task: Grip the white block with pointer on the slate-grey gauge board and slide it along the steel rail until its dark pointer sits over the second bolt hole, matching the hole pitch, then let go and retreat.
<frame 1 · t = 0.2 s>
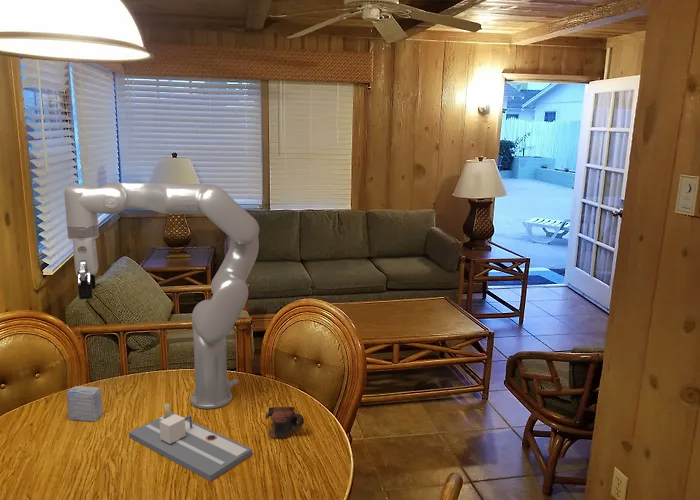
hand: (87, 293, 152), 37 cm above the table, tool pointing down, fingers open, 9 cm apart
pottery mug: (284, 431, 155), on the table
white block with pointer: (178, 425, 148), point 4 cm above the table, slide at 10.0 cm
gauge board: (189, 445, 146), on the table
medicine box: (86, 418, 159), on the table
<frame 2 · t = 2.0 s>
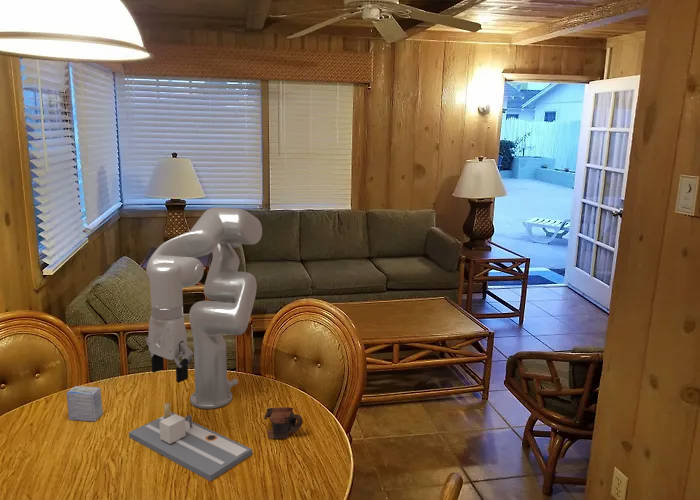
hand: (169, 375, 143), 20 cm above the table, tool pointing down, fingers open, 9 cm apart
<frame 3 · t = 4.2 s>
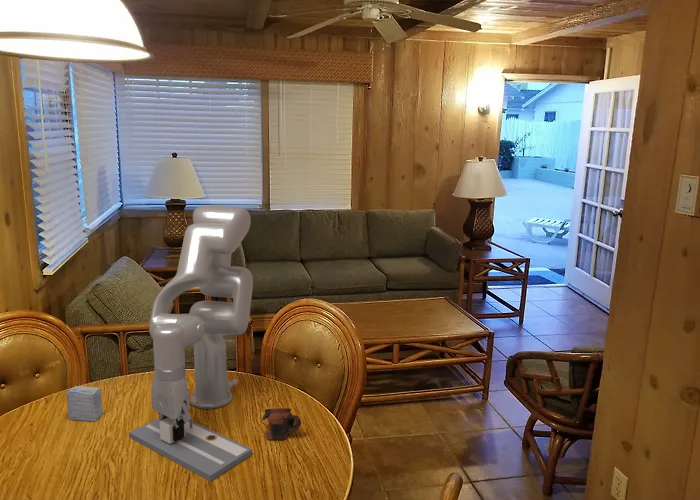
hand: (172, 435, 147), 3 cm above the table, tool pointing down, fingers closed on white block with pointer, 4 cm apart
white block with pointer: (178, 425, 148), point 5 cm above the table, slide at 10.0 cm, touching gripper
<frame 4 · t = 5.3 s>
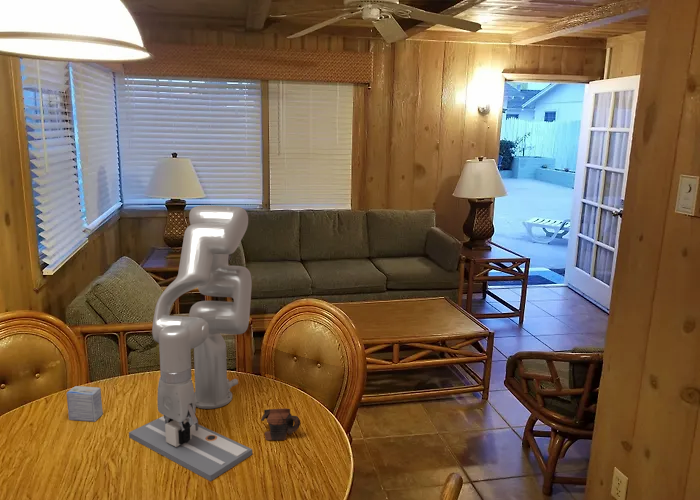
hand: (178, 438, 145), 3 cm above the table, tool pointing down, fingers closed on white block with pointer, 4 cm apart
white block with pointer: (184, 428, 146), point 5 cm above the table, slide at 12.4 cm, touching gripper
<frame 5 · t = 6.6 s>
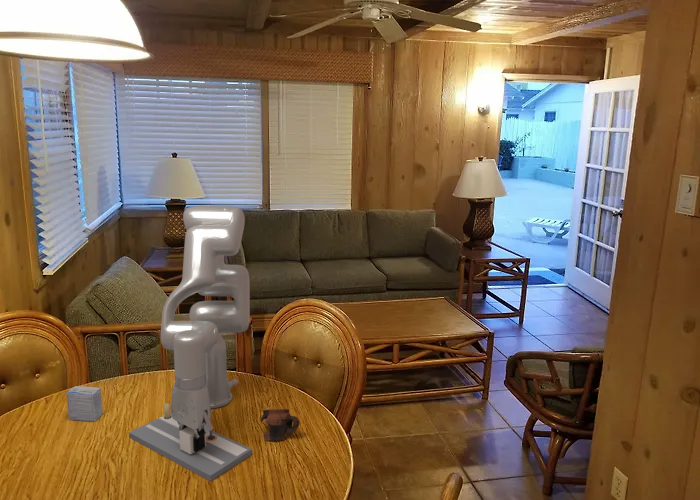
hand: (193, 445, 142), 3 cm above the table, tool pointing down, fingers closed on white block with pointer, 4 cm apart
white block with pointer: (198, 435, 143), point 4 cm above the table, slide at 18.0 cm, touching gripper
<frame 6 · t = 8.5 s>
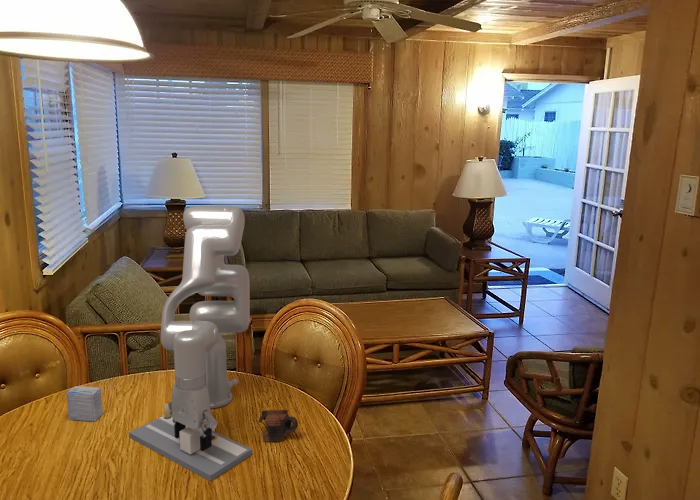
hand: (193, 442, 142), 4 cm above the table, tool pointing down, fingers open, 9 cm apart
white block with pointer: (198, 435, 143), point 4 cm above the table, slide at 18.0 cm
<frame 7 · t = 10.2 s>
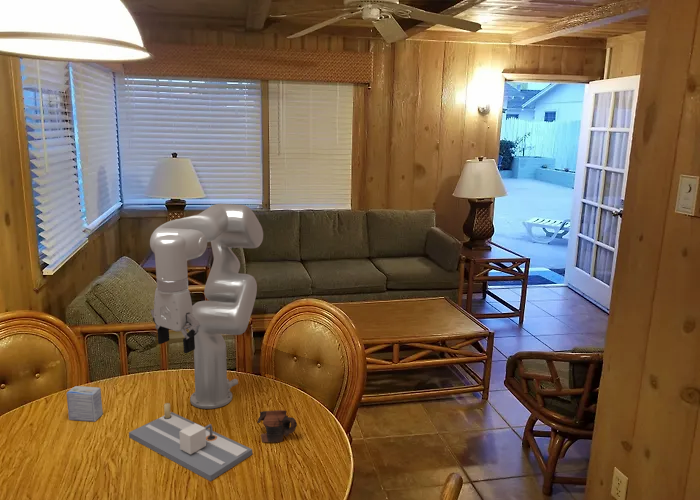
hand: (176, 346, 145), 26 cm above the table, tool pointing down, fingers open, 9 cm apart
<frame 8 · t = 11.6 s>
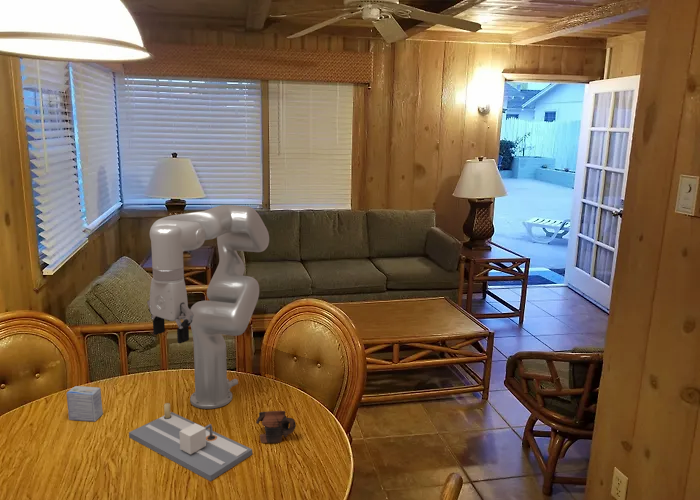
hand: (171, 337, 145), 28 cm above the table, tool pointing down, fingers open, 9 cm apart
at the end: white block with pointer slide at 18.0 cm; the gripper is holding nothing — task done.
